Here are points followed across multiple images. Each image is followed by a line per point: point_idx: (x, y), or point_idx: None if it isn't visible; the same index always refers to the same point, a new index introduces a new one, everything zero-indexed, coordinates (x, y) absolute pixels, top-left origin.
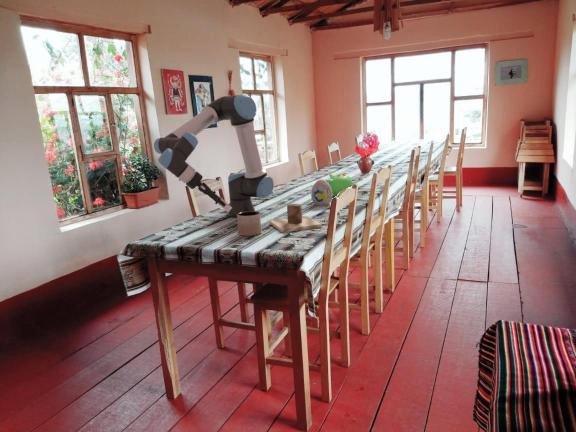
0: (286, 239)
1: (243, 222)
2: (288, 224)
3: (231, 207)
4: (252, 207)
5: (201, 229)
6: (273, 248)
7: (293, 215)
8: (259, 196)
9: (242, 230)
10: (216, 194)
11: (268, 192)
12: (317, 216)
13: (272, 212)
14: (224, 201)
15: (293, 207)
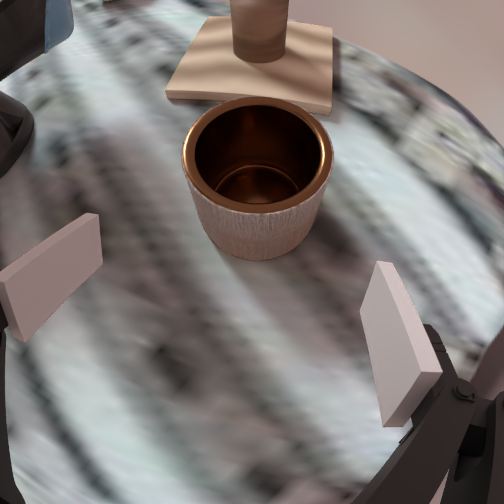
0: (421, 149)
1: (304, 219)
2: (274, 68)
3: (393, 271)
4: (17, 102)
5: (37, 361)
6: (494, 232)
7: (281, 33)
8: (55, 43)
9: (290, 244)
10: (13, 278)
11: (71, 12)
12: (210, 8)
13: (63, 70)
14: (423, 330)
15: (284, 7)
